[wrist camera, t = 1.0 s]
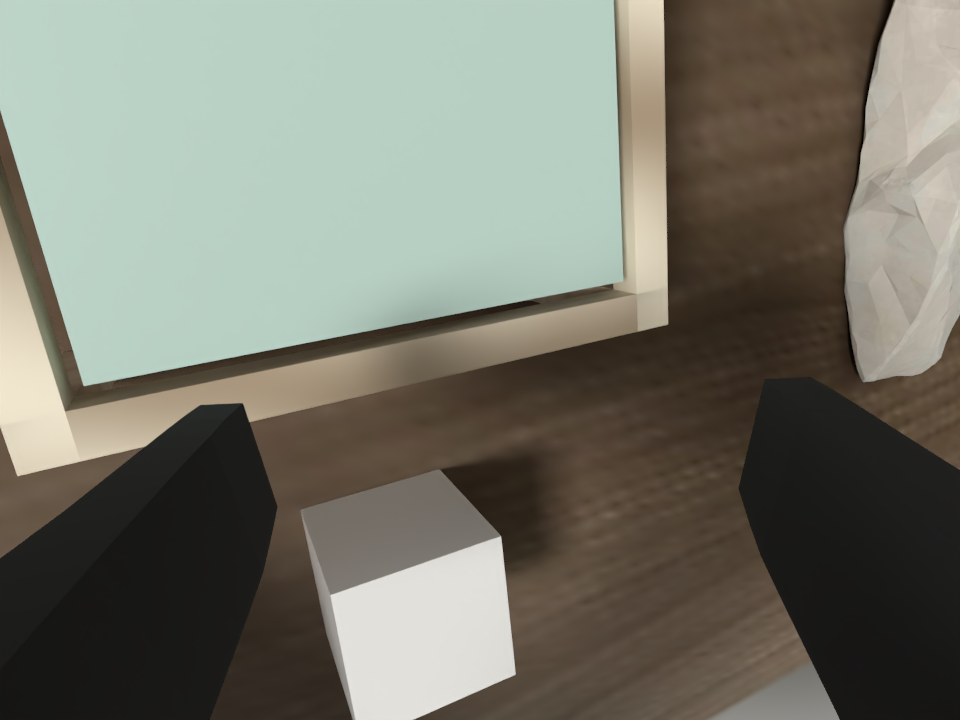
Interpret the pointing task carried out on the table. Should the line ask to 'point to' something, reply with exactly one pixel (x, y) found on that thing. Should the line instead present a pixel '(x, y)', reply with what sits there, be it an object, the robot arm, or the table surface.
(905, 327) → the rock
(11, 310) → the trapdoor frame
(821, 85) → the table surface
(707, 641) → the table surface
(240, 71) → the trapdoor
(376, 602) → the white cube
